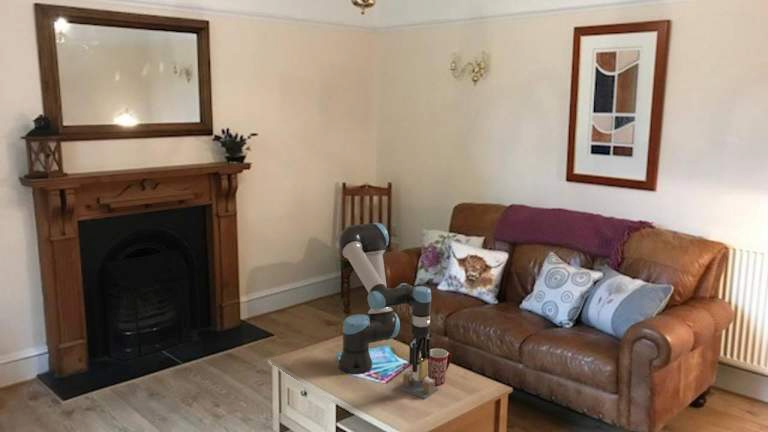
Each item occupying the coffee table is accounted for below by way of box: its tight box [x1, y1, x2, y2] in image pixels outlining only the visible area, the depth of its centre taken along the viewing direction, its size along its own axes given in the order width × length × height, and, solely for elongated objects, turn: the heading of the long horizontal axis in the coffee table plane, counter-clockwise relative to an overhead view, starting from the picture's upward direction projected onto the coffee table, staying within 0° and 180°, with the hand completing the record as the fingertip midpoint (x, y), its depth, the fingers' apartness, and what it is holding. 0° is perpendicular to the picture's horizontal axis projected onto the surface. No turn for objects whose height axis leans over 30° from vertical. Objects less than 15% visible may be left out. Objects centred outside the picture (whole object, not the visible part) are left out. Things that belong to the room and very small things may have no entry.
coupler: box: [411, 355, 428, 382], centre depth 267 cm, size 5×4×8 cm
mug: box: [427, 348, 452, 386], centre depth 277 cm, size 13×9×14 cm
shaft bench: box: [398, 370, 439, 400], centre depth 269 cm, size 13×10×7 cm
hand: (419, 376), depth 268 cm, fingers closed on coupler, 4 cm apart
